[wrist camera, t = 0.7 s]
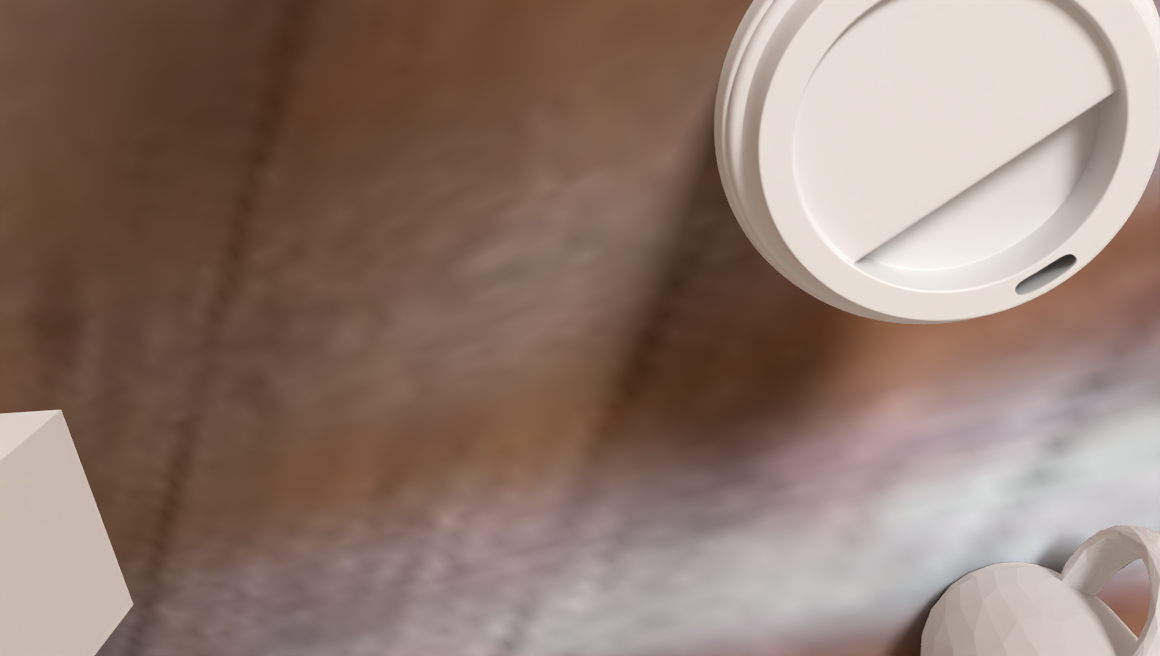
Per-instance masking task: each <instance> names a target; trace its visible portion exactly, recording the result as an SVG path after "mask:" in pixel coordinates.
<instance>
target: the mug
mask: <svg viewBox="0 0 1160 656" xmlns="http://www.w3.org/2000/svg"><path fill="white" fill-rule="evenodd" d="M1140 558H1142V559H1143V561H1144V563H1145V565H1146V567H1147V569H1148V574H1149V580H1150V592H1151V601H1150V606H1149V612H1148V618H1147V621H1146V623H1145V626H1144V628H1143V630H1142V632H1141V634H1140V637H1139V639H1138V638H1137V637H1136V636H1135V635H1134V634H1133V633H1132V632H1131V630H1130V629H1129V628H1128V627H1127V626H1126V625H1125V624H1124V623H1123V622H1122V621H1121V620H1120V618H1119V617H1118V616H1117V615H1116V614H1115V613H1114V612H1113V611H1112V610H1111V609H1110V608H1109V607H1108V606H1107V605H1106V604H1105V603H1103V602H1102V601H1101V600H1100V599H1099V598H1097V597H1096V596H1095V595H1096V594H1097V593H1098V592H1099V591H1100V590H1101V589H1102V588H1103V587H1104V586H1105V585H1106V584H1107V583H1108V581H1109V580H1110V579H1111V578H1112V577H1113V576H1114V575H1115V574H1116V573H1117V572H1118V571H1119V570H1121V569H1122V568H1124V567H1125V566H1126V565H1128V564H1129V563H1131V562H1132V561H1134V560H1136V559H1140ZM921 656H1160V534H1159V533H1157V532H1155V531H1152V530H1149V529H1147V528H1144V527H1135V526H1118V525H1117V526H1114V527H1111V528H1108V529H1105V530H1101V531H1099V532H1098V533H1096V534H1095V535H1094V536H1092V537H1090V538H1089V539H1088V540H1087V541H1086V542H1084V543H1083V544H1082V545H1080V547H1079V548H1078V549H1077V550H1076V551H1075V552H1074V554H1073V555H1072V556H1071V557H1070V558H1069V559H1068V561H1067V562H1066V564H1065V566H1064V568H1063V570H1062V572H1061V574H1060V573H1058V572H1056V571H1054V570H1052V569H1049V568H1046V567H1043V566H1039V565H1036V564H1030V563H1024V562H1007V563H997V564H992V565H989V566H986V567H984V568H981V569H978V570H975V571H972V572H970V573H968V574H966V575H965V576H963V577H962V578H960V579H959V580H958V581H956V582H955V583H953V584H952V585H951V586H950V587H949V588H948V589H947V590H946V592H945V593H944V594H943V595H942V597H941V598H940V599H939V600H938V602H937V603H936V604H935V605H934V606H933V608H932V609H931V611H930V614H929V617H928V619H927V621H926V624H925V627H924V630H923V633H922V640H921Z"/></svg>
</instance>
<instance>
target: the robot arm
mask: <svg viewBox="0 0 1160 656" xmlns="http://www.w3.org/2000/svg"><path fill="white" fill-rule="evenodd" d="M132 606H133V602H132V600H131V597H130V594H129V591H128V589H127V586H126V583H125V581H124V578H123V575H122V573H121V570H120V567H119V565H118V562H117V559H116V556H115V554H114V551H113V548H112V546H111V543H110V540H109V538H108V535H107V532H106V529H105V527H104V524H103V521H102V519H101V516H100V513H99V511H98V508H97V505H96V503H95V500H94V497H93V494H92V492H91V489H90V486H89V484H88V481H87V478H86V476H85V473H84V470H83V467H82V465H81V462H80V459H79V457H78V454H77V451H76V449H75V446H74V443H73V440H72V438H71V435H70V432H69V430H68V427H67V424H66V422H65V419H64V416H63V414H62V411H61V410H48V411H33V412H18V413H3V414H0V656H95V654H96V653H97V652H98V650H99V649H100V648H101V646H102V645H103V644H104V643H105V641H106V640H107V639H108V637H109V636H110V635H111V633H112V632H113V631H114V629H115V628H116V627H117V626H118V624H119V623H120V622H121V620H122V619H123V618H124V616H125V615H126V614H127V613H128V611H129V610H130V609H131V607H132Z"/></svg>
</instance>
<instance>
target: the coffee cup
mask: <svg viewBox="0 0 1160 656" xmlns="http://www.w3.org/2000/svg"><path fill="white" fill-rule="evenodd" d="M714 140H715V151H716V159H717V165H718V169H719V174H720V178H721V182H722V185H723V188H724V192H725V194H726V197H727V200H728V202H729V205H730V207H731V209H732V211H733V213H734V215H735V217H736V219H737V221H738V223H739V225H740V226H741V228H742V230H743V231H744V233H745V234H746V236H747V237H748V239H749V240H750V242H751V243H752V244H753V246H754V247H755V248H756V249H757V251H758V252H759V253H760V254H761V255H762V256H763V258H764V259H765V260H766V261H767V262H768V263H769V264H770V265H771V266H772V267H773V268H774V269H776V270H777V271H778V272H779V273H780V274H781V275H783V276H784V277H785V278H786V279H788V280H789V281H790V282H792V283H793V284H794V285H796V286H797V287H799V288H800V289H802V290H804V291H805V292H807V293H808V294H810V295H812V296H813V297H815V298H817V299H819V300H821V301H823V302H825V303H827V304H829V305H831V306H833V307H836V308H838V309H841V310H843V311H846V312H849V313H852V314H855V315H858V316H862V317H866V318H870V319H875V320H880V321H886V322H894V323H906V324H938V323H949V322H956V321H963V320H968V319H973V318H977V317H981V316H986V315H990V314H994V313H997V312H1001V311H1004V310H1007V309H1010V308H1013V307H1015V306H1018V305H1020V304H1023V303H1025V302H1028V301H1030V300H1032V299H1034V298H1036V297H1038V296H1040V295H1042V294H1044V293H1046V292H1048V291H1049V290H1051V289H1053V288H1054V287H1056V286H1058V285H1059V284H1061V283H1062V282H1064V281H1065V280H1067V279H1068V278H1070V277H1071V276H1072V275H1074V274H1075V273H1076V272H1078V271H1079V270H1080V269H1082V268H1083V267H1084V266H1085V265H1086V264H1087V263H1089V262H1090V261H1091V260H1092V259H1093V258H1094V257H1095V256H1096V255H1097V254H1098V253H1099V252H1100V251H1101V250H1102V249H1103V248H1104V247H1105V246H1106V245H1107V244H1108V243H1109V242H1110V241H1111V240H1112V238H1113V237H1114V236H1115V235H1116V234H1117V232H1118V231H1119V230H1120V229H1121V227H1122V226H1123V225H1124V223H1125V222H1126V220H1127V219H1128V218H1129V216H1130V215H1131V213H1132V211H1133V210H1134V208H1135V207H1136V205H1137V203H1138V201H1139V200H1140V198H1141V196H1142V194H1143V192H1144V190H1145V188H1146V186H1147V184H1148V181H1149V179H1150V177H1151V174H1152V171H1153V169H1154V166H1155V163H1156V160H1157V157H1158V154H1159V151H1160V18H1159V15H1158V12H1157V10H1156V7H1155V5H1154V2H1153V0H753V2H752V4H751V5H750V7H749V8H748V10H747V12H746V14H745V15H744V17H743V19H742V21H741V23H740V25H739V27H738V29H737V31H736V33H735V35H734V37H733V40H732V42H731V44H730V47H729V50H728V52H727V55H726V58H725V61H724V64H723V68H722V72H721V76H720V80H719V84H718V90H717V96H716V103H715V115H714Z"/></svg>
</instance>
